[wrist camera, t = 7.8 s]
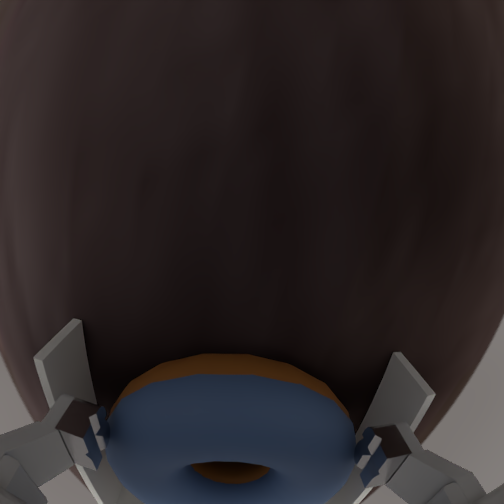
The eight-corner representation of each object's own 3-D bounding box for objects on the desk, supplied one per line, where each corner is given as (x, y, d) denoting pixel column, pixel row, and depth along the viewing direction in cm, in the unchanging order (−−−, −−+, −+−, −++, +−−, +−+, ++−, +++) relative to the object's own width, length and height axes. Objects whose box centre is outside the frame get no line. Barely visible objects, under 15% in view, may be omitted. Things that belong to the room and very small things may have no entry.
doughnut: (227, 501, 12) (229, 559, 8) (85, 406, 11) (47, 466, 6) (370, 416, 12) (410, 474, 8) (234, 276, 11) (239, 323, 6)
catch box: (73, 318, 10) (33, 357, 7) (400, 351, 10) (435, 394, 8) (118, 484, 12) (107, 517, 10) (319, 501, 13) (327, 534, 10)
